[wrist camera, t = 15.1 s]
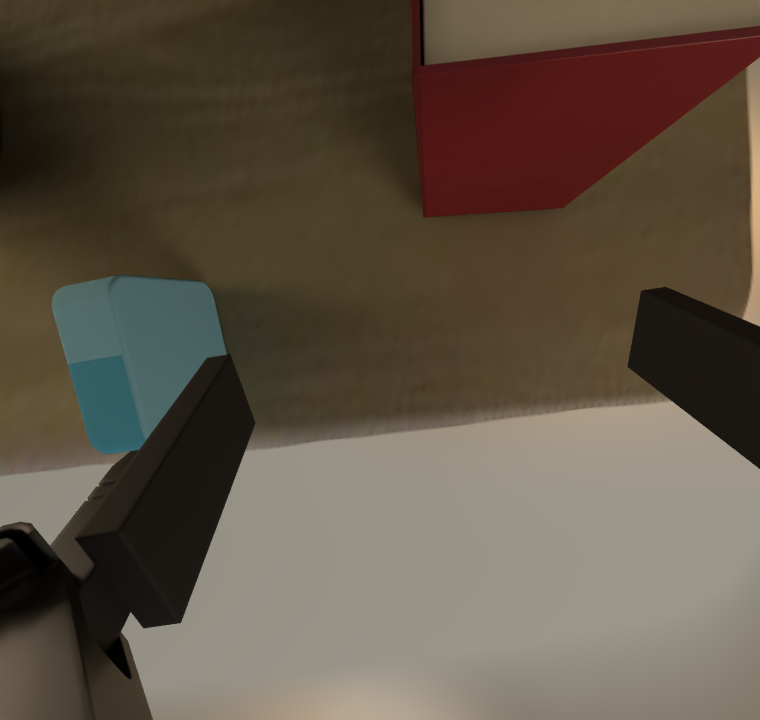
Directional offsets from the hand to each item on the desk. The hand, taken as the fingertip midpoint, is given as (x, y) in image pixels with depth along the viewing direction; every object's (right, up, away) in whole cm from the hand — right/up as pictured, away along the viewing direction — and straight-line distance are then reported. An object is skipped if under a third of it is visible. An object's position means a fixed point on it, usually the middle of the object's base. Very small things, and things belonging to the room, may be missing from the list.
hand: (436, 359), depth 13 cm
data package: (-19, +1, +25) cm, 31 cm away
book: (+6, +14, +9) cm, 18 cm away
